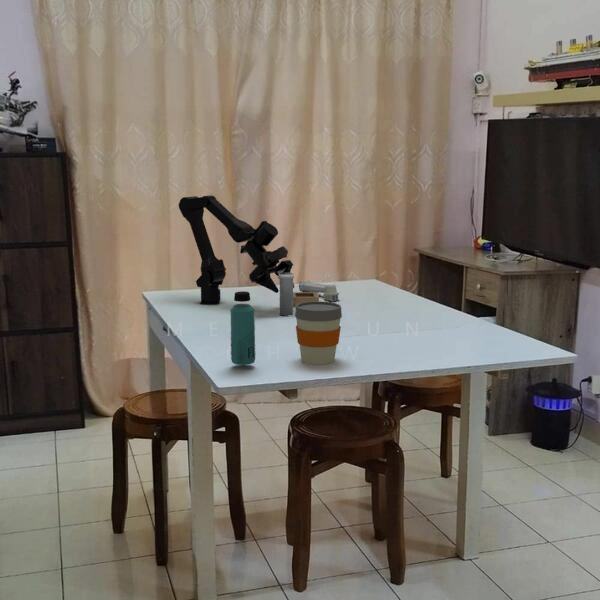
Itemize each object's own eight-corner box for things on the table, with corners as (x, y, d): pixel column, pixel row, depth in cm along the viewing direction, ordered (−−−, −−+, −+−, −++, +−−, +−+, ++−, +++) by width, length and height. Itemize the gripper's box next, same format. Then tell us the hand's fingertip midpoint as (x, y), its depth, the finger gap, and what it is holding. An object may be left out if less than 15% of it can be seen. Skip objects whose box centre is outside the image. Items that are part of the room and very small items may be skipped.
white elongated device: (308, 280, 313) (341, 281, 291) (309, 297, 314) (342, 300, 292) (296, 281, 311) (328, 283, 289) (297, 298, 312) (329, 301, 289)
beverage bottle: (249, 371, 204) (248, 295, 200) (226, 368, 207) (225, 293, 203) (259, 365, 210) (259, 290, 206) (237, 362, 213) (236, 288, 209)
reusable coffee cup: (296, 367, 209) (296, 311, 206) (292, 354, 221) (293, 301, 218) (344, 366, 210) (345, 310, 207) (337, 353, 222) (338, 300, 219)
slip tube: (278, 316, 267) (278, 275, 264) (278, 313, 272) (278, 272, 270) (294, 316, 267) (294, 275, 265) (293, 312, 273) (293, 272, 270)
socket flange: (291, 307, 281) (291, 297, 280) (290, 301, 291) (290, 292, 290) (319, 307, 281) (319, 297, 280) (317, 301, 291) (317, 292, 290)
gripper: (255, 242, 260) (283, 278, 256) (288, 236, 275) (315, 271, 272) (237, 264, 266) (264, 300, 262) (270, 257, 281) (296, 291, 278)
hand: (285, 290), depth 268 cm, fingers open, 9 cm apart
